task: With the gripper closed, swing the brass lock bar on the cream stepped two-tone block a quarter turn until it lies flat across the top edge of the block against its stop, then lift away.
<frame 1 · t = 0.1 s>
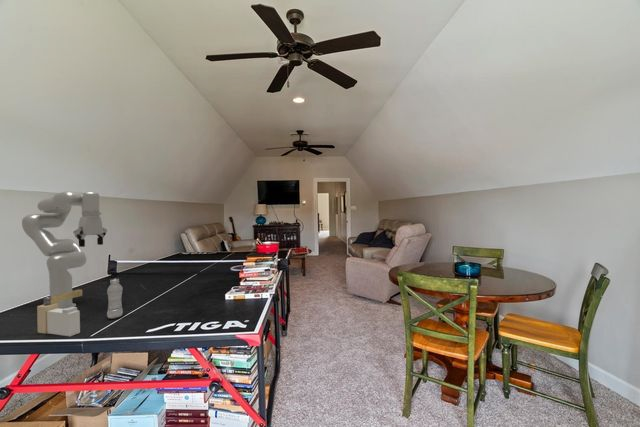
hand: (91, 245, 153), 37 cm above the table, tool pointing down, fingers open, 9 cm apart
swing bar: (63, 296, 135), point 14 cm above the table, hinge at 90.0°
cream stepped two-tone block: (59, 332, 127), on the table
plastic bottle: (115, 318, 144), on the table
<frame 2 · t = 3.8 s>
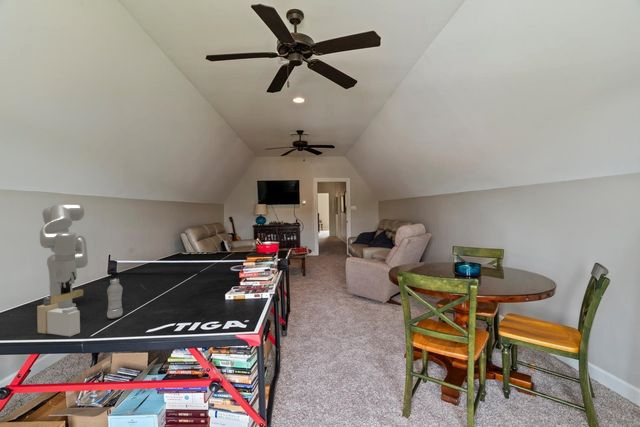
hand: (65, 295, 138), 14 cm above the table, tool pointing down, fingers closed
swing bar: (63, 296, 135), point 14 cm above the table, hinge at 87.7°, touching gripper
everything else where it was.
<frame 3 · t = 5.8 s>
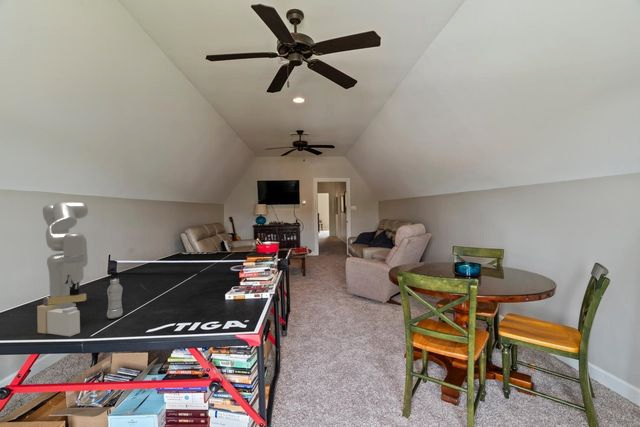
hand: (74, 296, 134), 14 cm above the table, tool pointing down, fingers closed
swing bar: (65, 299, 131), point 14 cm above the table, hinge at 36.6°, touching gripper
everything else where it was.
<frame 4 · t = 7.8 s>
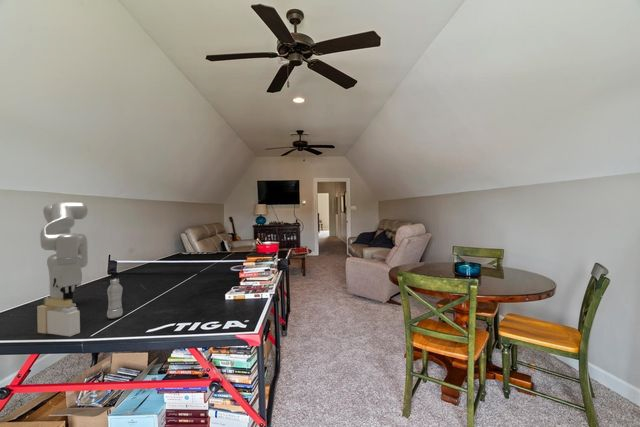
hand: (68, 300, 129), 14 cm above the table, tool pointing down, fingers closed
swing bar: (56, 301, 127), point 14 cm above the table, hinge at -1.9°, touching gripper
everything else where it was.
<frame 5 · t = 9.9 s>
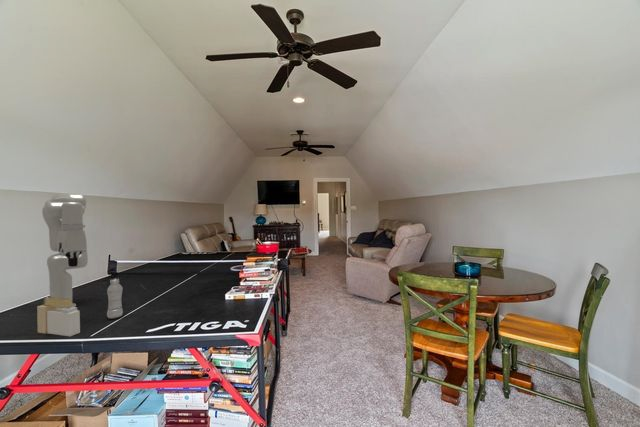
hand: (73, 266, 133), 29 cm above the table, tool pointing down, fingers closed
swing bar: (57, 301, 127), point 14 cm above the table, hinge at -1.4°
everything else where it was.
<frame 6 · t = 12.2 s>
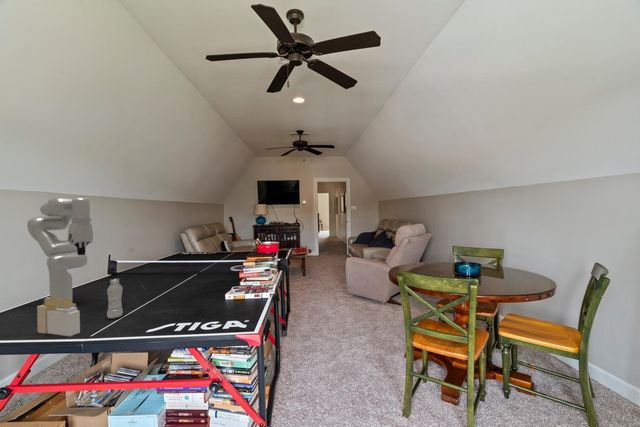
hand: (81, 254, 150), 32 cm above the table, tool pointing down, fingers closed
nothing on the table moved.
at the end: swing bar at -1° (first picture: +90°); plastic bottle moved 0.2 cm from its start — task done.
